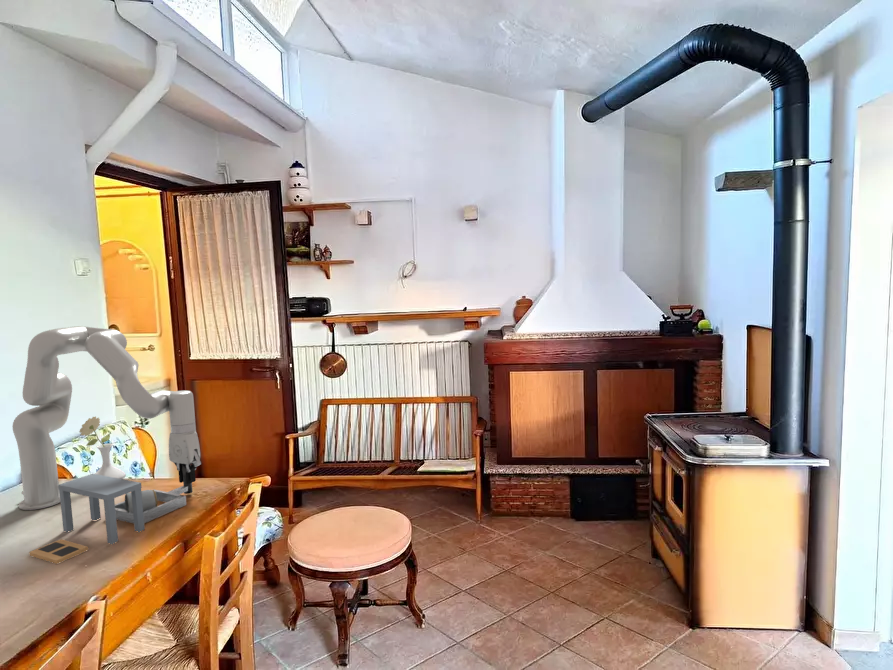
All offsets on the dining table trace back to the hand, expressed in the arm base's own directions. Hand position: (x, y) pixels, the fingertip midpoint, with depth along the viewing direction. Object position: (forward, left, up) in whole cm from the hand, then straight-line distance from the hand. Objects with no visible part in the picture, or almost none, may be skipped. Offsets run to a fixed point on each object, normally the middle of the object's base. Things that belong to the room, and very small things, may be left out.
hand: (187, 481), depth 187 cm
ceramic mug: (-1, -17, -5) cm, 17 cm away
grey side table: (0, -29, -5) cm, 29 cm away
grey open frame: (0, -11, -4) cm, 12 cm away
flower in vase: (-39, -3, -5) cm, 39 cm away
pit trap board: (+2, -42, -5) cm, 43 cm away
